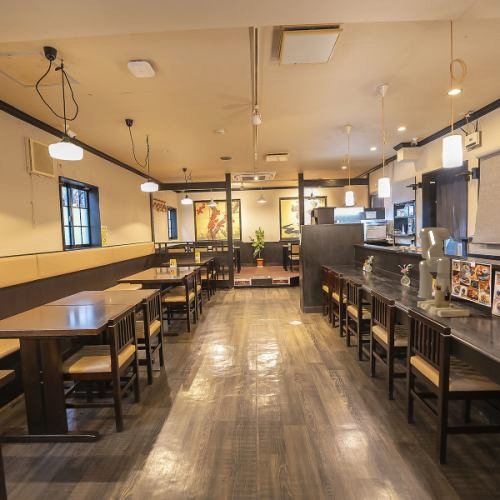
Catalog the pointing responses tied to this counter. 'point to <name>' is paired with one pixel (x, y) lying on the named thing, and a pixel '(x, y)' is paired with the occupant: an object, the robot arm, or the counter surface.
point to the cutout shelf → (443, 309)
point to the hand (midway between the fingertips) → (442, 299)
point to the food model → (441, 298)
